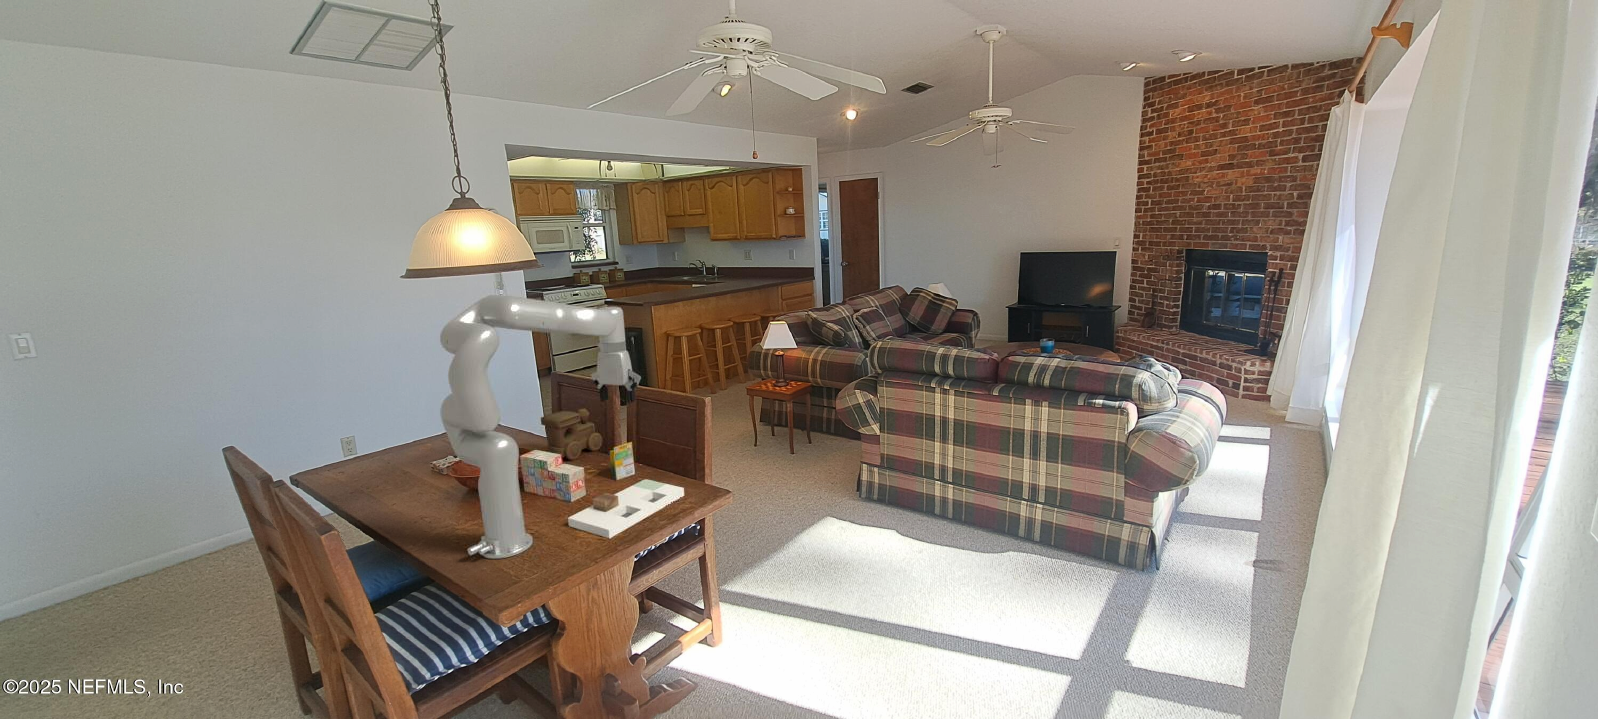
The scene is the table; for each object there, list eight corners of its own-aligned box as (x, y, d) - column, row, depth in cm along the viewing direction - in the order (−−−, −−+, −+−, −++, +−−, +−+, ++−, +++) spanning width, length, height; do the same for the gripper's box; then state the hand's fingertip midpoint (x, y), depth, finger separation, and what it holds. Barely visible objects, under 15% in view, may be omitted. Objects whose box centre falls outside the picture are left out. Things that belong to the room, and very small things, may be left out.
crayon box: (630, 471, 215) (627, 439, 213) (635, 474, 214) (632, 441, 211) (611, 478, 210) (608, 445, 208) (616, 480, 208) (613, 447, 206)
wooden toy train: (565, 465, 224) (560, 420, 220) (543, 460, 229) (538, 416, 226) (606, 447, 241) (602, 406, 237) (585, 443, 246) (581, 402, 243)
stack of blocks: (586, 495, 198) (583, 458, 195) (571, 502, 192) (567, 465, 190) (539, 484, 207) (535, 449, 205) (523, 491, 202) (519, 455, 199)
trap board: (609, 538, 169) (608, 529, 168) (568, 525, 177) (567, 517, 176) (684, 495, 195) (683, 487, 195) (646, 486, 203) (645, 478, 202)
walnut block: (605, 512, 179) (604, 502, 178) (593, 508, 182) (592, 499, 181) (618, 505, 183) (617, 495, 183) (606, 502, 186) (605, 492, 185)
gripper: (581, 348, 190) (586, 402, 194) (630, 350, 185) (634, 406, 188) (597, 344, 197) (601, 396, 201) (644, 346, 192) (648, 400, 195)
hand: (617, 401), depth 194 cm, fingers open, 9 cm apart
